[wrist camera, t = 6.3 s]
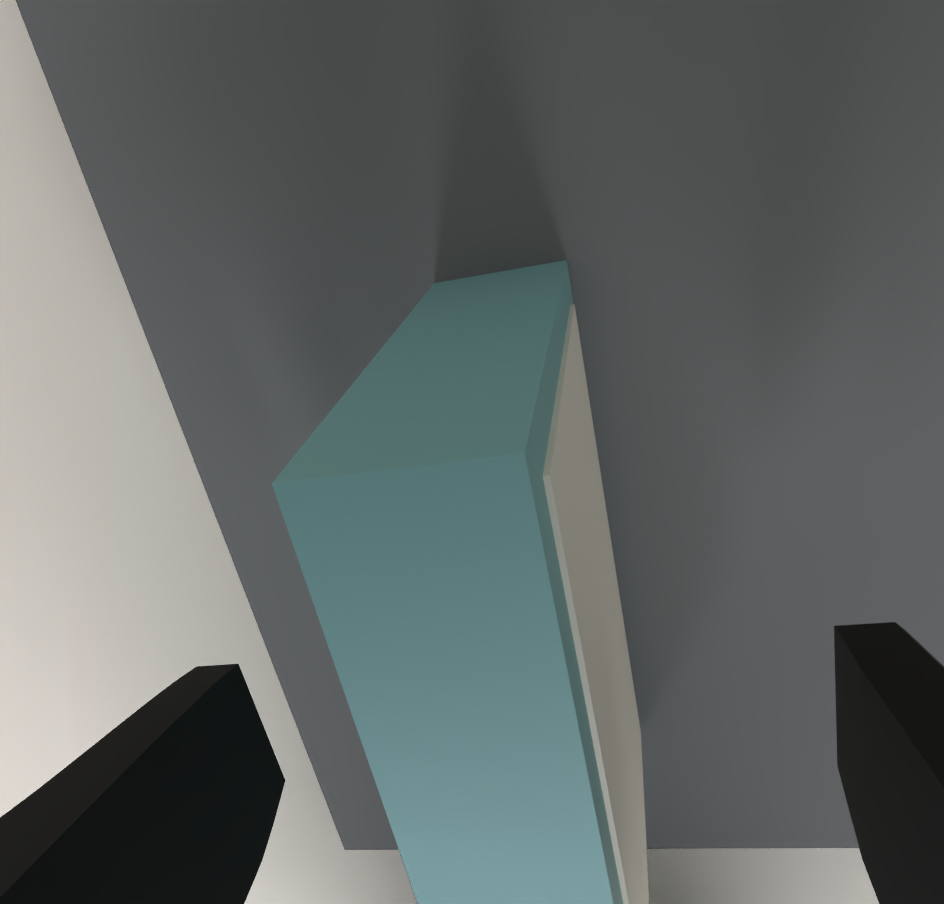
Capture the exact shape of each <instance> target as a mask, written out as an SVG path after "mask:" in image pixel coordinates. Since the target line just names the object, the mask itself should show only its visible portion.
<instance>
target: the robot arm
mask: <svg viewBox="0 0 944 904" xmlns="http://www.w3.org/2000/svg"><path fill="white" fill-rule="evenodd" d="M834 650H835V691H836V732H837V766H838V770H839V774H840V778H841V782H842V785H843V789H844V793H845V797H846V801H847V804H848V808H849V812H850V816H851V819H852V823H853V827H854V830H855V834H856V837H857V841H858V845H859V848H860V852H861V856H862V859H863V862H864V864H865V867H866V870H867V872H868V875H869V878H870V880H871V883H872V885H873V888H874V891H875V893H876V896H877V898H878V901H879V904H944V666H943V665H942V664H941V663H940V662H939V661H938V660H937V659H936V658H935V657H933V656H932V655H931V654H930V653H929V652H928V651H927V650H926V649H925V648H924V647H923V646H922V645H921V644H920V643H919V642H918V641H917V640H915V639H914V638H913V637H912V636H911V635H910V634H909V633H908V632H907V631H906V630H905V629H903V628H902V627H901V626H900V625H898V624H897V623H896V622H886V623H871V624H855V625H839V626H834ZM284 783H285V779H284V776H283V774H282V771H281V769H280V766H279V764H278V761H277V759H276V756H275V754H274V751H273V749H272V746H271V744H270V741H269V739H268V737H267V734H266V732H265V729H264V727H263V724H262V722H261V719H260V717H259V714H258V712H257V709H256V707H255V704H254V702H253V699H252V697H251V694H250V692H249V689H248V687H247V684H246V682H245V679H244V677H243V674H242V672H241V669H240V667H239V664H230V665H214V666H198V667H195V668H194V669H193V670H191V671H190V672H188V673H187V674H185V675H184V676H182V677H181V678H179V679H178V680H177V681H175V682H174V683H172V684H171V685H170V686H168V687H167V688H166V689H164V690H163V691H162V692H161V693H159V694H158V695H157V696H155V697H154V698H153V699H151V700H150V701H149V702H148V703H146V704H145V705H144V706H142V707H141V708H140V709H139V710H137V711H136V712H135V713H134V714H132V715H131V716H130V717H129V718H127V719H126V720H125V721H123V722H122V723H121V724H120V725H118V726H117V727H116V728H115V729H113V730H112V731H111V732H110V733H108V734H107V735H106V736H105V737H103V738H102V739H101V740H100V741H98V742H97V743H96V744H95V745H93V746H92V747H91V748H90V749H88V750H87V751H86V752H85V753H83V754H82V755H81V756H80V757H78V758H77V759H76V760H74V761H73V762H72V763H71V764H69V765H68V766H67V767H66V768H64V769H63V770H62V771H61V772H59V773H58V774H57V775H56V776H54V777H53V778H52V779H51V780H49V781H48V782H47V783H45V784H44V785H43V786H42V787H40V788H39V789H38V790H37V791H35V792H34V793H33V794H31V795H30V796H29V797H27V798H26V799H25V800H23V801H22V802H21V803H19V804H18V805H17V806H15V807H14V808H13V809H11V810H10V811H9V812H7V813H6V814H5V815H3V816H2V817H1V818H0V904H244V902H245V900H246V898H247V895H248V893H249V891H250V888H251V886H252V884H253V881H254V879H255V876H256V874H257V871H258V869H259V867H260V864H261V862H262V859H263V856H264V853H265V849H266V846H267V843H268V840H269V836H270V833H271V830H272V827H273V823H274V820H275V816H276V812H277V809H278V805H279V801H280V798H281V794H282V790H283V786H284Z"/></svg>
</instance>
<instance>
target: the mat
mask: <svg viewBox="0 0 944 904" xmlns="http://www.w3.org/2000/svg"><path fill="white" fill-rule="evenodd" d="M16 2H17V5H18V7H19V10H20V12H21V15H22V18H23V20H24V23H25V25H26V28H27V30H28V33H29V36H30V38H31V41H32V43H33V46H34V49H35V51H36V54H37V56H38V59H39V61H40V64H41V67H42V69H43V72H44V74H45V77H46V80H47V82H48V85H49V87H50V90H51V92H52V95H53V98H54V100H55V103H56V105H57V108H58V111H59V113H60V116H61V118H62V121H63V123H64V126H65V129H66V131H67V134H68V136H69V139H70V141H71V144H72V147H73V149H74V152H75V154H76V157H77V160H78V162H79V165H80V167H81V170H82V172H83V175H84V178H85V180H86V183H87V185H88V188H89V191H90V193H91V196H92V198H93V201H94V203H95V206H96V209H97V211H98V214H99V216H100V219H101V222H102V224H103V227H104V229H105V232H106V234H107V237H108V240H109V242H110V245H111V247H112V250H113V252H114V255H115V258H116V260H117V263H118V265H119V268H120V271H121V273H122V276H123V278H124V281H125V283H126V286H127V289H128V291H129V294H130V296H131V299H132V302H133V304H134V307H135V309H136V312H137V314H138V317H139V320H140V322H141V325H142V327H143V330H144V333H145V335H146V338H147V340H148V343H149V345H150V348H151V351H152V353H153V356H154V358H155V361H156V363H157V366H158V369H159V371H160V374H161V376H162V379H163V382H164V384H165V387H166V389H167V392H168V394H169V397H170V400H171V402H172V405H173V407H174V410H175V413H176V415H177V418H178V420H179V423H180V425H181V428H182V431H183V433H184V436H185V438H186V441H187V443H188V446H189V449H190V451H191V454H192V456H193V459H194V462H195V464H196V467H197V469H198V472H199V474H200V477H201V480H202V482H203V485H204V487H205V490H206V493H207V495H208V498H209V500H210V503H211V505H212V508H213V511H214V513H215V516H216V518H217V521H218V524H219V526H220V529H221V531H222V534H223V536H224V539H225V542H226V544H227V547H228V549H229V552H230V554H231V557H232V560H233V562H234V565H235V567H236V570H237V573H238V575H239V578H240V580H241V583H242V585H243V588H244V591H245V593H246V596H247V598H248V601H249V604H250V606H251V609H252V611H253V614H254V616H255V619H256V622H257V624H258V627H259V629H260V632H261V635H262V637H263V640H264V642H265V645H266V647H267V650H268V653H269V655H270V658H271V660H272V663H273V665H274V668H275V671H276V673H277V676H278V678H279V681H280V684H281V686H282V689H283V691H284V694H285V696H286V699H287V702H288V704H289V707H290V709H291V712H292V715H293V717H294V720H295V722H296V725H297V727H298V730H299V733H300V735H301V738H302V740H303V743H304V745H305V748H306V751H307V753H308V756H309V758H310V761H311V764H312V766H313V769H314V771H315V774H316V776H317V779H318V782H319V784H320V787H321V789H322V792H323V795H324V797H325V800H326V802H327V805H328V807H329V810H330V813H331V815H332V818H333V820H334V823H335V826H336V828H337V831H338V833H339V836H340V838H341V841H342V844H343V846H344V849H345V850H399V849H398V846H397V843H396V840H395V837H394V834H393V831H392V829H391V826H390V823H389V820H388V817H387V814H386V811H385V808H384V806H383V803H382V800H381V797H380V794H379V791H378V788H377V785H376V783H375V780H374V777H373V774H372V771H371V768H370V765H369V762H368V760H367V757H366V754H365V751H364V748H363V745H362V742H361V739H360V737H359V734H358V731H357V728H356V725H355V722H354V719H353V716H352V714H351V711H350V708H349V705H348V702H347V699H346V696H345V693H344V691H343V688H342V685H341V682H340V679H339V676H338V673H337V670H336V668H335V665H334V662H333V659H332V656H331V653H330V650H329V647H328V644H327V642H326V639H325V636H324V633H323V630H322V627H321V624H320V621H319V619H318V616H317V613H316V610H315V607H314V604H313V601H312V598H311V596H310V593H309V590H308V587H307V584H306V581H305V578H304V575H303V573H302V570H301V567H300V564H299V561H298V558H297V555H296V552H295V550H294V547H293V544H292V541H291V538H290V535H289V532H288V529H287V527H286V524H285V521H284V518H283V515H282V512H281V509H280V506H279V504H278V501H277V498H276V495H275V492H274V489H273V486H272V482H273V481H274V480H275V479H276V478H277V476H278V475H279V474H280V473H281V471H282V470H283V469H284V468H285V466H286V465H287V464H288V463H289V461H290V460H291V459H292V458H293V457H294V455H295V454H296V453H297V452H298V450H299V449H300V448H301V447H302V445H303V444H304V443H305V442H306V441H307V439H308V438H309V437H310V436H311V434H312V433H313V432H314V431H315V429H316V428H317V427H318V426H319V425H320V423H321V422H322V421H323V420H324V418H325V417H326V416H327V415H328V413H329V412H330V411H331V410H332V408H333V407H334V406H335V405H336V404H337V402H338V401H339V400H340V399H341V397H342V396H343V395H344V394H345V392H346V391H347V390H348V389H349V388H350V386H351V385H352V384H353V383H354V381H355V380H356V379H357V378H358V376H359V375H360V374H361V373H362V371H363V370H364V369H365V368H366V367H367V365H368V364H369V363H370V362H371V360H372V359H373V358H374V357H375V355H376V354H377V353H378V352H379V351H380V349H381V348H382V347H383V346H384V344H385V343H386V342H387V341H388V339H389V338H390V337H391V336H392V335H393V333H394V332H395V331H396V330H397V328H398V327H399V326H400V325H401V323H402V322H403V321H404V320H405V318H406V317H407V316H408V315H409V314H410V312H411V311H412V310H413V309H414V307H415V306H416V305H417V304H418V302H419V301H420V300H421V299H422V298H423V296H424V295H425V294H426V293H427V291H428V290H429V289H430V288H431V286H432V285H433V284H434V283H438V282H444V281H450V280H455V279H461V278H467V277H473V276H478V275H484V274H490V273H496V272H501V271H507V270H513V269H519V268H524V267H530V266H536V265H542V264H547V263H553V262H559V261H564V260H567V265H568V271H569V278H570V284H571V290H572V297H573V303H574V304H575V310H576V317H577V323H578V330H579V336H580V343H581V349H582V356H583V362H584V368H585V375H586V381H587V388H588V394H589V401H590V407H591V414H592V420H593V427H594V433H595V439H596V446H597V452H598V459H599V465H600V472H601V478H602V485H603V491H604V498H605V504H606V510H607V517H608V523H609V530H610V536H611V543H612V549H613V556H614V562H615V569H616V575H617V581H618V588H619V594H620V601H621V607H622V614H623V620H624V627H625V633H626V640H627V646H628V652H629V659H630V665H631V672H632V678H633V685H634V691H635V698H636V704H637V711H638V717H639V723H640V730H641V743H642V764H643V784H644V805H645V825H646V845H647V849H662V848H859V845H858V841H857V837H856V834H855V830H854V827H853V823H852V819H851V816H850V812H849V808H848V804H847V801H846V797H845V793H844V789H843V785H842V782H841V778H840V774H839V770H838V766H837V732H836V691H835V650H834V626H839V625H855V624H871V623H886V622H896V623H897V624H898V625H900V626H901V627H902V628H903V629H905V630H906V631H907V632H908V633H909V634H910V635H911V636H912V637H913V638H914V639H915V640H917V641H918V642H919V643H920V644H921V645H922V646H923V647H924V648H925V649H926V650H927V651H928V652H929V653H930V654H931V655H932V656H933V657H935V658H936V659H937V660H938V661H939V662H940V663H941V664H942V665H943V666H944V0H16Z"/></svg>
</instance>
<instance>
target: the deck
mask: <svg viewBox="0 0 944 904" xmlns="http://www.w3.org/2000/svg"><path fill="white" fill-rule="evenodd" d="M272 486H273V489H274V492H275V495H276V498H277V501H278V504H279V506H280V509H281V512H282V515H283V518H284V521H285V524H286V527H287V529H288V532H289V535H290V538H291V541H292V544H293V547H294V550H295V552H296V555H297V558H298V561H299V564H300V567H301V570H302V573H303V575H304V578H305V581H306V584H307V587H308V590H309V593H310V596H311V598H312V601H313V604H314V607H315V610H316V613H317V616H318V619H319V621H320V624H321V627H322V630H323V633H324V636H325V639H326V642H327V644H328V647H329V650H330V653H331V656H332V659H333V662H334V665H335V668H336V670H337V673H338V676H339V679H340V682H341V685H342V688H343V691H344V693H345V696H346V699H347V702H348V705H349V708H350V711H351V714H352V716H353V719H354V722H355V725H356V728H357V731H358V734H359V737H360V739H361V742H362V745H363V748H364V751H365V754H366V757H367V760H368V762H369V765H370V768H371V771H372V774H373V777H374V780H375V783H376V785H377V788H378V791H379V794H380V797H381V800H382V803H383V806H384V808H385V811H386V814H387V817H388V820H389V823H390V826H391V829H392V831H393V834H394V837H395V840H396V843H397V846H398V849H399V852H400V855H401V857H402V860H403V863H404V866H405V869H406V872H407V875H408V878H409V880H410V883H411V886H412V889H413V892H414V895H415V898H416V901H417V903H418V904H649V886H648V866H647V845H646V825H645V805H644V784H643V764H642V743H641V730H640V723H639V717H638V711H637V704H636V698H635V691H634V685H633V678H632V672H631V665H630V659H629V652H628V646H627V640H626V633H625V627H624V620H623V614H622V607H621V601H620V594H619V588H618V581H617V575H616V569H615V562H614V556H613V549H612V543H611V536H610V530H609V523H608V517H607V510H606V504H605V498H604V491H603V485H602V478H601V472H600V465H599V459H598V452H597V446H596V439H595V433H594V427H593V420H592V414H591V407H590V401H589V394H588V388H587V381H586V375H585V368H584V362H583V356H582V349H581V343H580V336H579V330H578V323H577V317H576V310H575V304H574V303H573V297H572V290H571V284H570V278H569V271H568V265H567V260H564V261H559V262H553V263H547V264H542V265H536V266H530V267H524V268H519V269H513V270H507V271H501V272H496V273H490V274H484V275H478V276H473V277H467V278H461V279H455V280H450V281H444V282H438V283H434V284H433V285H432V286H431V288H430V289H429V290H428V291H427V293H426V294H425V295H424V296H423V298H422V299H421V300H420V301H419V302H418V304H417V305H416V306H415V307H414V309H413V310H412V311H411V312H410V314H409V315H408V316H407V317H406V318H405V320H404V321H403V322H402V323H401V325H400V326H399V327H398V328H397V330H396V331H395V332H394V333H393V335H392V336H391V337H390V338H389V339H388V341H387V342H386V343H385V344H384V346H383V347H382V348H381V349H380V351H379V352H378V353H377V354H376V355H375V357H374V358H373V359H372V360H371V362H370V363H369V364H368V365H367V367H366V368H365V369H364V370H363V371H362V373H361V374H360V375H359V376H358V378H357V379H356V380H355V381H354V383H353V384H352V385H351V386H350V388H349V389H348V390H347V391H346V392H345V394H344V395H343V396H342V397H341V399H340V400H339V401H338V402H337V404H336V405H335V406H334V407H333V408H332V410H331V411H330V412H329V413H328V415H327V416H326V417H325V418H324V420H323V421H322V422H321V423H320V425H319V426H318V427H317V428H316V429H315V431H314V432H313V433H312V434H311V436H310V437H309V438H308V439H307V441H306V442H305V443H304V444H303V445H302V447H301V448H300V449H299V450H298V452H297V453H296V454H295V455H294V457H293V458H292V459H291V460H290V461H289V463H288V464H287V465H286V466H285V468H284V469H283V470H282V471H281V473H280V474H279V475H278V476H277V478H276V479H275V480H274V481H273V482H272Z"/></svg>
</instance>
